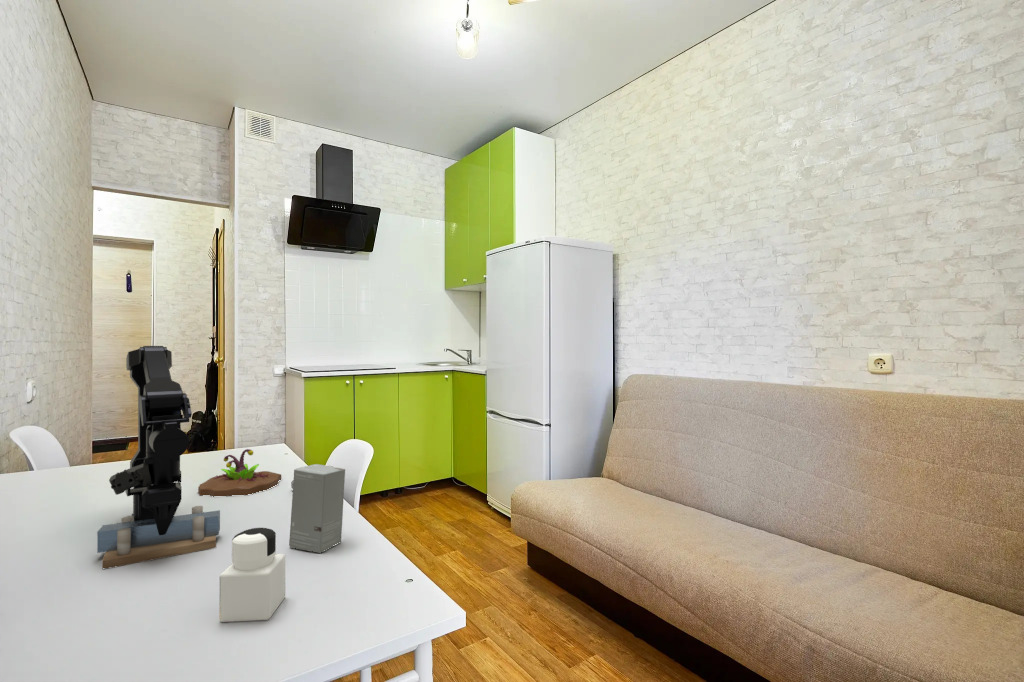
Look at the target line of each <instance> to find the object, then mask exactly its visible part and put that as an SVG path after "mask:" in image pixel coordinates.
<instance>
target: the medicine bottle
mask: <svg viewBox="0 0 1024 682" xmlns="http://www.w3.org/2000/svg"><path fill="white" fill-rule="evenodd" d="M276 535H277V533H276V532H275V531H274V530H273V529H271V528H268V527H253V528H249V529H245V530H242V531H241V532H238V533H237V534H235V535H234V537H233V538H232V540H231V565H229V566H228V567H227V568H226V569H225V570H224V571H223V572H222V573H221V574H219V622H221V623H229V622H230V623H232V622H233V623H234V622H252V621H268V620H270V618H271V617H272V616H273V614H275V611H276V610H277V609H278V608H279V606H280V605H281V604H282V602H283V601H284V599H285V597H286V554H285V553H276V548H277V545H276V542H277V541H276V540H277V539H276V537H277V536H276Z"/></svg>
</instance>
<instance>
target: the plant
mask: <svg viewBox="0 0 1024 682" xmlns="http://www.w3.org/2000/svg"><path fill="white" fill-rule="evenodd" d="M245 453H247V454H248V455H249V456H253V455H254V451H253V449H250V448H249V449H248V448H247V449H245V450H243V451H242V452H241V454H240V457H239V460H238V458H237V457H236V456H235V455H232V454H228V455H225V456H224V457H223V462H226V465H225V466H226V468H228V469H226V468H221V469H220V470H221V471H222V472H224V473H222V474H221V475H220V474H219V475H215V476H212V477H210V478H209V479H207V480H206V481H204V482H202V483H200V484H199V485H198V491H197V492H198V494H199V496H200V497H203V495H210V496H209V497H212V496H213V497H212V498H215V497H214V496H226V497H233V496H232V495H244V496H249V495H248V494H252V493H255V494H257V493H256V492H258V493H260V492H259V491H262V492H264V491H263V490H266V491H268V490H267V489H269V488H271V487H273V486H275V485H277V484H278V485H279V482H280V481H279V480H281V479H282V474H281V473H276V472H272V471H268V470H265V471H263V470H262V471H255V470H257V468H258V467H259V466H260V464H259V463H256V464H255V465H252V466H251V467H250V468H249V465H248V463H245V462H244V461H245V460H244V459H245V455H246V454H245ZM229 457H230V458H231V459H232V460H230V461H229ZM232 464H234V465H235V467H233V466H232ZM278 481H279V482H278ZM281 481H282V480H281ZM278 485H277V486H278ZM275 487H276V486H275ZM273 488H274V487H273ZM271 489H272V488H271ZM269 490H270V489H269ZM252 495H253V494H252Z"/></svg>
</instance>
